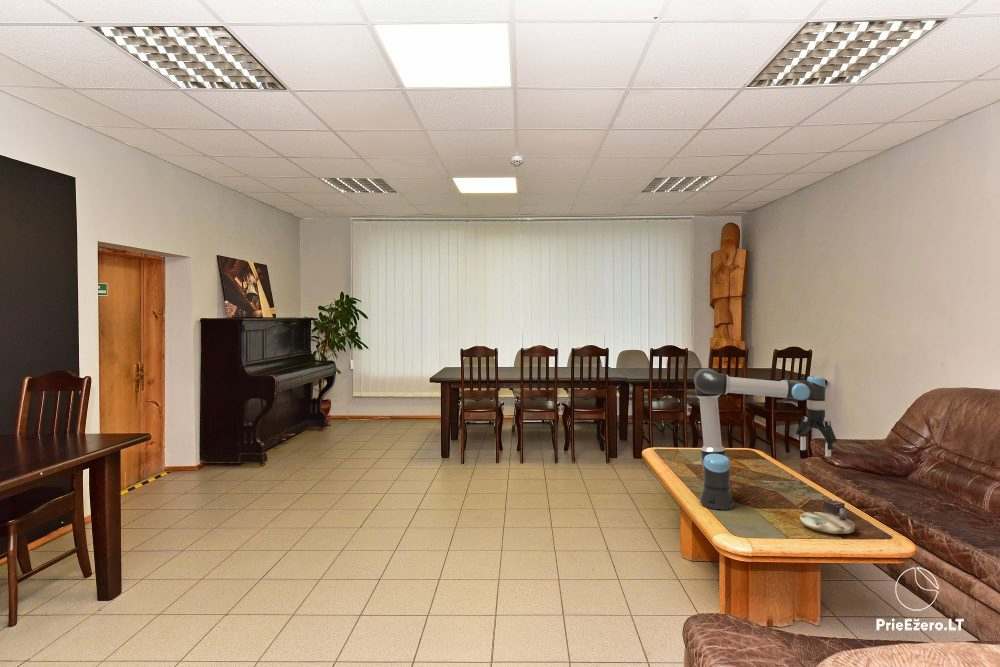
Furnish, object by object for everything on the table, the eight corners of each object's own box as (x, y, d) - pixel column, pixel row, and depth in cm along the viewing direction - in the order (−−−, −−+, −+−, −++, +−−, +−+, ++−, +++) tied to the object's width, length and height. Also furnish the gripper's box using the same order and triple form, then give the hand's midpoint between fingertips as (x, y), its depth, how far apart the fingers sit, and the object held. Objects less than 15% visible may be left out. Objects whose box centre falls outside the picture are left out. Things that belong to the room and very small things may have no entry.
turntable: (821, 534, 221) (821, 518, 221) (789, 517, 241) (790, 502, 240) (866, 532, 223) (866, 517, 223) (831, 515, 243) (831, 501, 243)
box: (834, 521, 240) (834, 504, 240) (822, 516, 246) (822, 500, 246) (844, 519, 242) (845, 503, 242) (833, 515, 248) (833, 499, 248)
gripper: (846, 412, 249) (845, 458, 249) (799, 404, 272) (799, 446, 273) (833, 413, 246) (833, 459, 247) (788, 405, 270) (787, 447, 270)
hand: (815, 453), depth 260 cm, fingers open, 13 cm apart
